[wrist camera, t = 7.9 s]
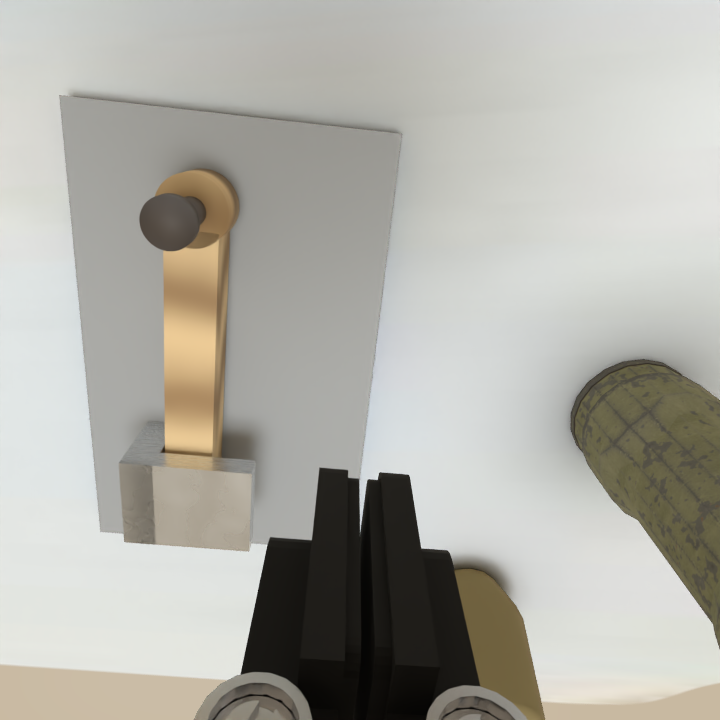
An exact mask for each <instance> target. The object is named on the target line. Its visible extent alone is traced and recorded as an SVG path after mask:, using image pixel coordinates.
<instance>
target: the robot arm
mask: <svg viewBox="0 0 720 720" xmlns="http://www.w3.org/2000/svg"><path fill="white" fill-rule="evenodd" d="M194 720H527V718H526V716H525V715H524V714H523V713H522V712H521V711H520V710H519V709H518V708H517V707H516V706H515V705H514V704H513V703H512V702H511V701H509V700H507V699H506V698H504V697H503V696H501V695H500V694H498V693H497V692H494V691H491V690H488V689H486V688H483V687H480V682H479V678H478V673H477V669H476V664H475V660H474V656H473V651H472V647H471V642H470V638H469V633H468V629H467V625H466V620H465V616H464V611H463V607H462V602H461V598H460V594H459V589H458V585H457V580H456V576H455V571H454V567H453V562H452V559H451V556H450V553H449V552H448V551H447V550H434V549H421V545H420V539H419V532H418V526H417V520H416V513H415V507H414V501H413V494H412V488H411V482H410V477H409V475H405V474H393V473H381V472H380V473H379V476H378V480H370V479H368V481H367V486H366V494H365V502H364V509H363V517H362V525H361V532H360V507H359V479H358V478H348V470H344V469H332V468H320V467H319V476H318V485H317V495H316V505H315V515H314V524H313V534H312V540H302V539H289V538H276V537H270V538H269V541H268V546H267V550H266V555H265V560H264V565H263V569H262V574H261V579H260V584H259V589H258V594H257V598H256V603H255V608H254V613H253V618H252V622H251V627H250V632H249V637H248V642H247V646H246V651H245V656H244V661H243V666H242V671H241V675H237V676H235V677H233V678H231V679H229V680H227V681H225V682H224V683H222V684H220V685H219V686H218V687H217V688H216V689H215V690H214V691H213V692H211V693H210V694H209V695H208V696H207V697H206V699H205V700H204V702H203V704H202V705H201V707H200V709H199V710H198V712H197V714H196V716H195V719H194Z"/></svg>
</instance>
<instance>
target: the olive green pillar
mask: <svg viewBox="0 0 720 720" xmlns="http://www.w3.org/2000/svg"><path fill="white" fill-rule="evenodd" d="M571 432H572V434H573V437H574V440H575V442H576V445H577V446H578V447H579V449H580V450H581V451H582V452H583V453H584V456H585V458H586V461H587V464H588V466H589V467H590V469H591V470H592V471H593V473H594V474H595V476H596V477H597V479H598V480H599V482H600V483H601V484H602V486H603V487H604V489H605V490H606V492H607V493H608V495H609V496H610V497H611V499H612V500H613V501H614V502H615V503H616V504H617V505H618V506H619V507H620V509H621V510H622V511H623V512H624V513H626V514H628V515H630V516H631V517H633V518H635V519H636V520H638V521H639V522H640V524H641V525H642V527H643V528H644V529H645V531H646V532H647V534H648V535H649V536H650V538H651V539H652V540H653V542H654V543H655V545H656V546H657V547H658V549H659V550H660V552H661V553H662V554H663V556H664V557H665V558H666V560H667V561H668V563H669V564H670V565H671V567H672V568H673V569H674V571H675V572H676V574H677V575H678V576H679V578H680V579H681V581H682V582H683V583H684V585H685V586H686V587H687V589H688V590H689V592H690V593H691V594H692V596H693V597H694V599H695V600H696V601H697V603H698V604H699V605H700V607H701V608H702V610H703V611H704V612H705V614H706V615H707V616H708V618H709V619H710V621H711V622H712V623H713V626H714V631H715V636H716V639H717V642H718V645H719V648H720V400H719V399H718V398H716V397H715V396H714V395H712V394H711V393H710V392H708V391H707V390H705V389H704V388H703V387H701V386H700V385H698V384H697V383H695V382H693V381H691V380H689V379H688V378H686V377H684V376H682V375H681V374H680V373H679V372H677V371H676V370H674V369H672V368H670V367H669V366H667V365H665V364H663V363H661V362H655V361H649V360H635V361H627V362H622V363H620V364H617V365H615V366H612V367H610V368H608V369H605V370H604V371H602V372H601V373H600V374H598V375H597V376H596V377H594V378H593V379H592V380H590V381H589V382H588V383H587V385H586V386H585V387H584V389H583V390H582V391H581V393H580V394H579V395H578V396H577V398H576V401H575V404H574V407H573V409H572V412H571Z"/></svg>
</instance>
